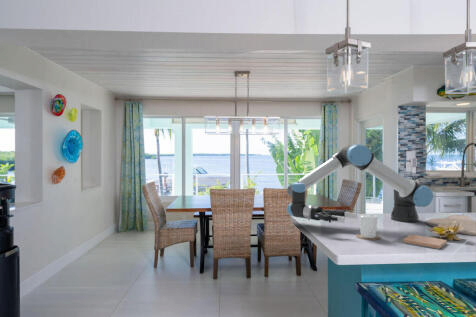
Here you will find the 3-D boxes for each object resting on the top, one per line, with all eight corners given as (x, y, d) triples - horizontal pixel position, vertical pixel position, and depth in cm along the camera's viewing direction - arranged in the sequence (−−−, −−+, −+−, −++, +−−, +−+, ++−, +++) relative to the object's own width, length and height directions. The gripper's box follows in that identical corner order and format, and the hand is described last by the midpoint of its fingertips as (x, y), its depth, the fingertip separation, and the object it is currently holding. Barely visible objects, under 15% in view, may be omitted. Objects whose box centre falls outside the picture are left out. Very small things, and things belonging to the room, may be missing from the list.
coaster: (362, 233, 158) (362, 232, 157) (384, 237, 150) (384, 236, 150) (351, 237, 150) (351, 236, 150) (375, 242, 142) (375, 241, 142)
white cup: (366, 239, 145) (366, 217, 145) (355, 235, 152) (355, 214, 152) (381, 238, 147) (381, 216, 147) (369, 234, 155) (369, 213, 155)
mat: (404, 236, 153) (404, 235, 153) (445, 242, 141) (445, 241, 141) (392, 242, 142) (392, 241, 142) (435, 250, 130) (435, 249, 130)
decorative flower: (421, 230, 158) (427, 211, 156) (445, 236, 156) (451, 217, 155) (435, 240, 143) (442, 219, 142) (462, 246, 141) (468, 225, 140)
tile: (411, 234, 148) (446, 240, 138) (412, 237, 148) (446, 243, 138) (403, 239, 140) (439, 245, 130) (403, 242, 140) (439, 249, 130)
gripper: (325, 216, 180) (361, 221, 165) (300, 223, 162) (338, 229, 147) (325, 203, 180) (361, 207, 165) (300, 208, 162) (338, 213, 147)
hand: (350, 218), depth 156 cm, fingers open, 13 cm apart
